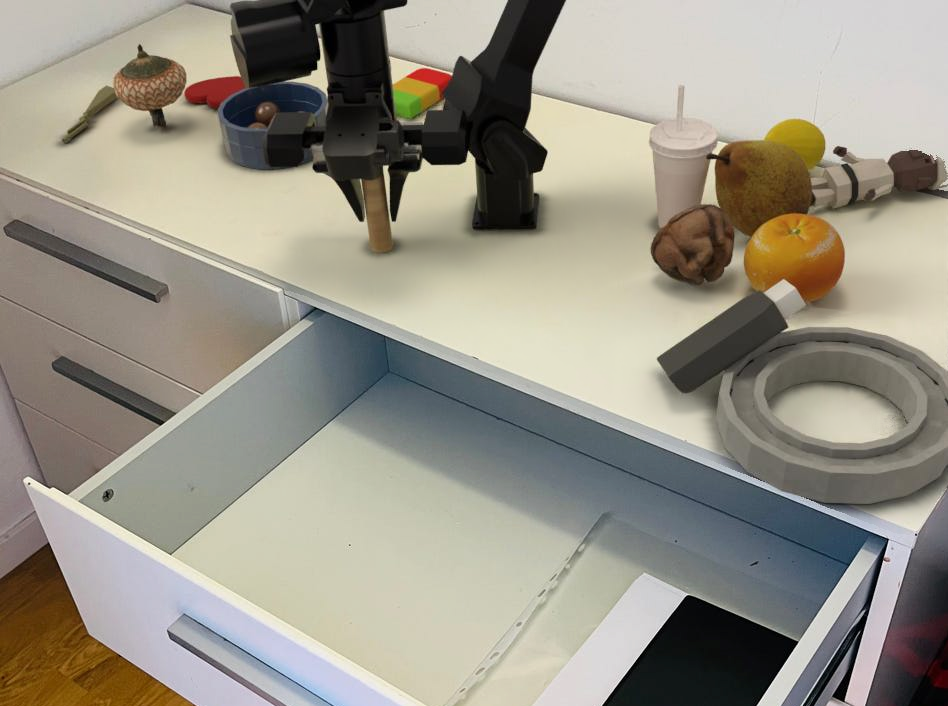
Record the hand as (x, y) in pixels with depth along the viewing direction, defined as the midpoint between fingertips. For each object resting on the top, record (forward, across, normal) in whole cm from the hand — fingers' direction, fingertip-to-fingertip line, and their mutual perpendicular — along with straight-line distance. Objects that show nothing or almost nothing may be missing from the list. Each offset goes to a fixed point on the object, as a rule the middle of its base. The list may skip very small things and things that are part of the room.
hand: (378, 219), depth 114 cm
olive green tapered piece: (+3, -40, +29) cm, 49 cm away
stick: (+3, 0, 0) cm, 3 cm away
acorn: (+3, -30, +26) cm, 40 cm away
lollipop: (+3, -23, +38) cm, 45 cm away
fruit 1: (-1, +38, +12) cm, 40 cm away
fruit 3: (+3, +39, -8) cm, 40 cm away
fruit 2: (+2, +39, +4) cm, 40 cm away
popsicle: (+3, -2, +30) cm, 30 cm away
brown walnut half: (0, +32, -9) cm, 33 cm away
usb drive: (-2, +32, -20) cm, 38 cm away
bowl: (+3, -15, +22) cm, 27 cm away
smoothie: (+3, +29, +4) cm, 30 cm away
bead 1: (+1, -16, +19) cm, 25 cm away
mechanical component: (+3, +40, -27) cm, 49 cm away
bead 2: (+1, -16, +25) cm, 30 cm away
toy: (+2, +41, +7) cm, 42 cm away
